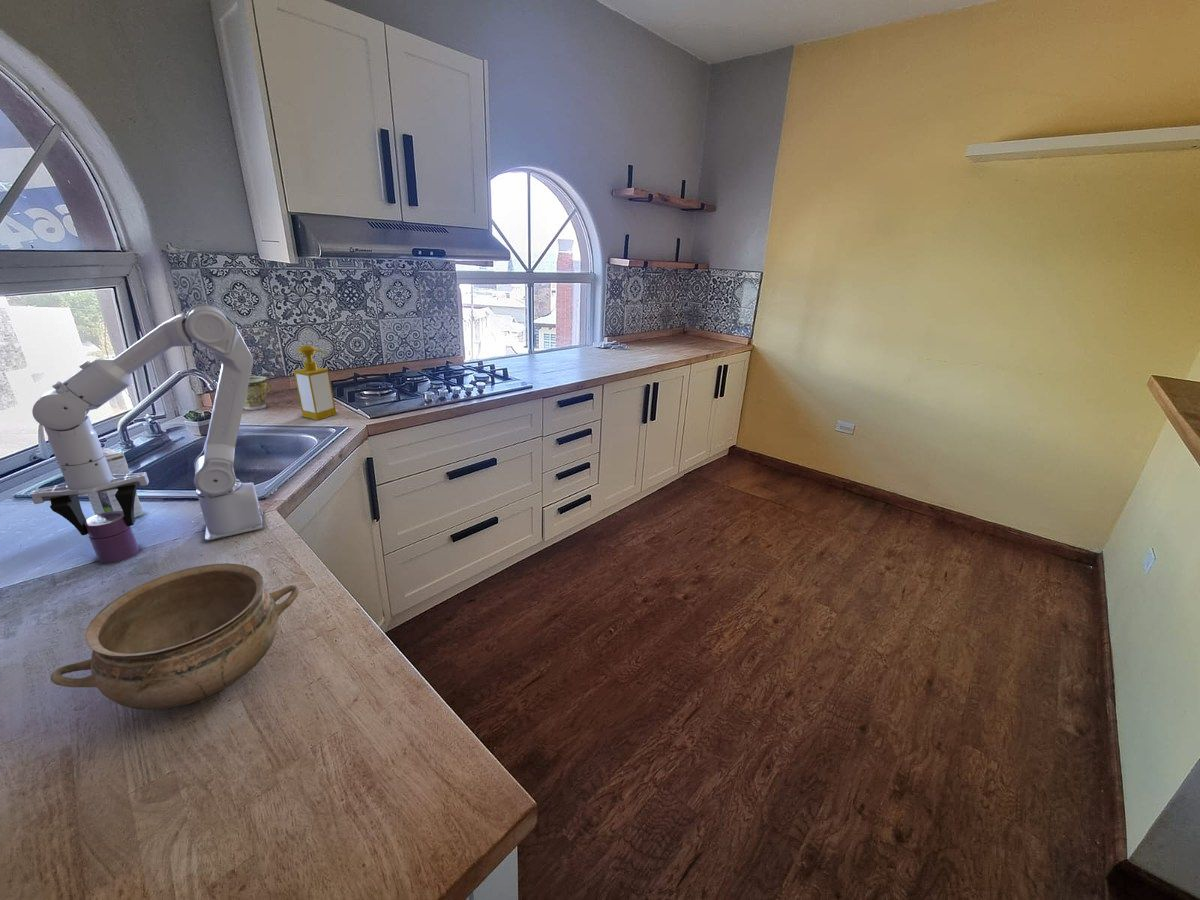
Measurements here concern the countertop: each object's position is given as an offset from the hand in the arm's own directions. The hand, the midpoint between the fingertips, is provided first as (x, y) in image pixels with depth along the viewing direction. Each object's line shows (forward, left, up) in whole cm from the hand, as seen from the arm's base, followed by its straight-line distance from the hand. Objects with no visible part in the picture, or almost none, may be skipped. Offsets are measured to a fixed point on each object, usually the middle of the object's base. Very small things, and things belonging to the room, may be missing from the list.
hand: (108, 528), depth 91 cm
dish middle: (0, 0, -3) cm, 3 cm away
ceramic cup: (-24, -91, -6) cm, 94 cm away
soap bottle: (-42, -70, -6) cm, 82 cm away
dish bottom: (0, 0, -6) cm, 6 cm away
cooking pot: (-15, +43, -6) cm, 46 cm away
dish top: (0, 0, 0) cm, 0 cm away
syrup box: (+2, -17, -6) cm, 18 cm away
